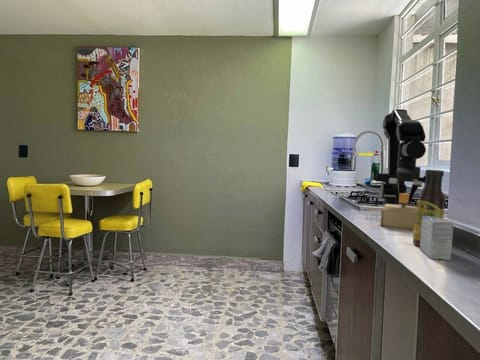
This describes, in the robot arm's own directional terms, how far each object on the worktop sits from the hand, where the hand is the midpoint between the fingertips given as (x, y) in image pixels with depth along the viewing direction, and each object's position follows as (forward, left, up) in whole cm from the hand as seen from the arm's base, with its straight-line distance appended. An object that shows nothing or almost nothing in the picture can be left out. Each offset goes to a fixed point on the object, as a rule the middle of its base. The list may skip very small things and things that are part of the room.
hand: (403, 203), depth 120 cm
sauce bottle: (+31, +7, -7) cm, 33 cm away
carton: (+4, 0, -7) cm, 8 cm away
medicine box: (+39, +9, -7) cm, 41 cm away
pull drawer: (0, 0, -2) cm, 2 cm away
